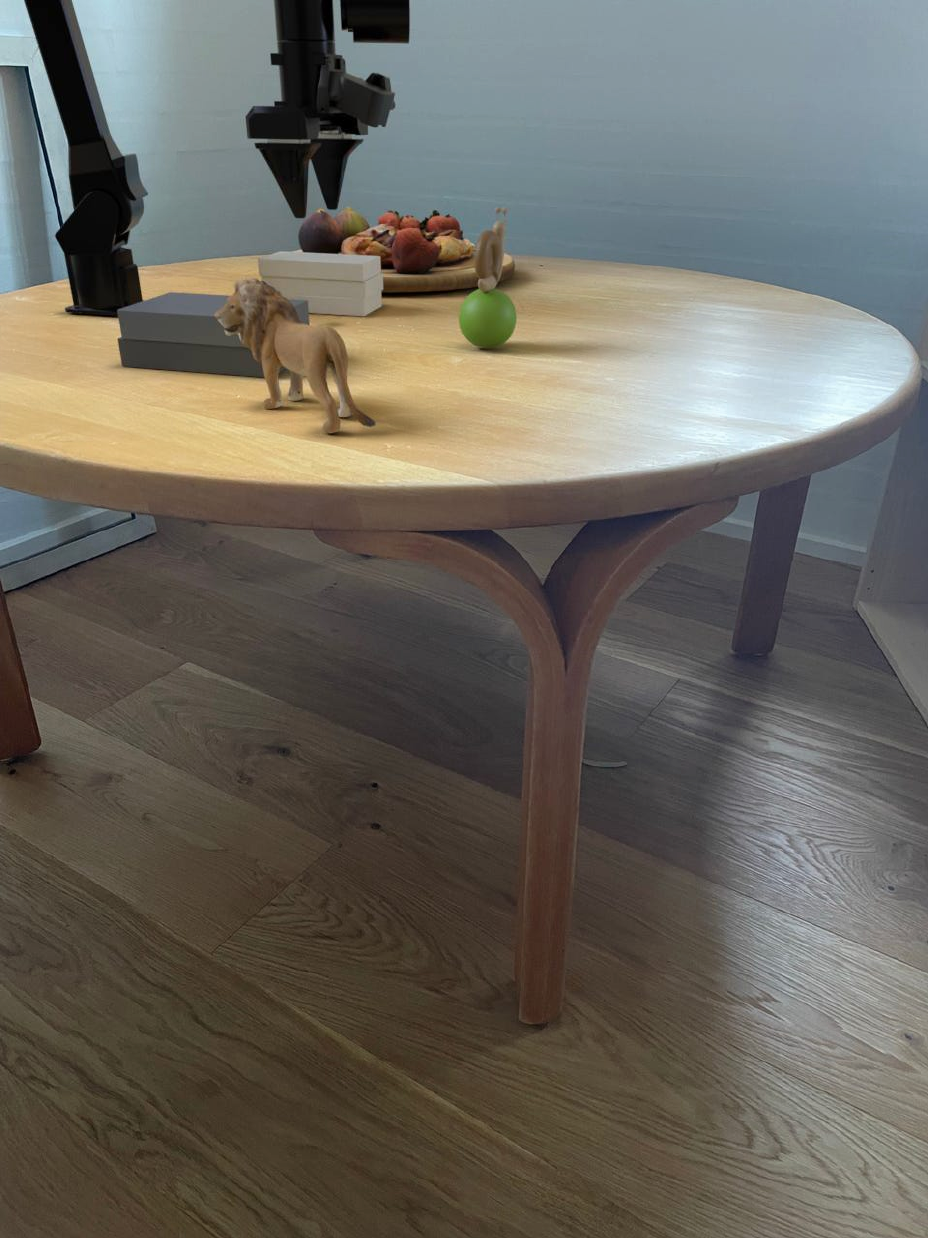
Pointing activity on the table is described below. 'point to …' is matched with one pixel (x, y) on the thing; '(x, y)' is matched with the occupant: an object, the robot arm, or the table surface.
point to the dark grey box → (187, 336)
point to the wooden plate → (400, 248)
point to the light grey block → (332, 294)
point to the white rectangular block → (319, 266)
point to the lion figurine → (290, 348)
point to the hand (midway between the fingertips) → (317, 213)
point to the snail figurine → (488, 293)
